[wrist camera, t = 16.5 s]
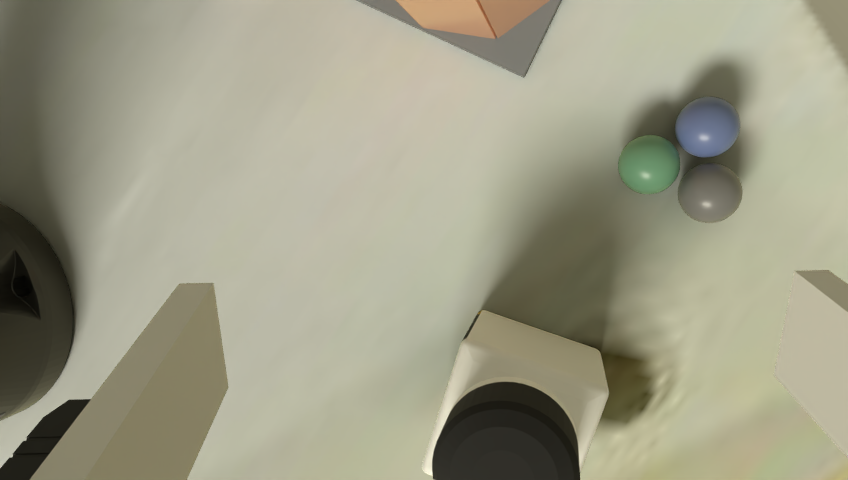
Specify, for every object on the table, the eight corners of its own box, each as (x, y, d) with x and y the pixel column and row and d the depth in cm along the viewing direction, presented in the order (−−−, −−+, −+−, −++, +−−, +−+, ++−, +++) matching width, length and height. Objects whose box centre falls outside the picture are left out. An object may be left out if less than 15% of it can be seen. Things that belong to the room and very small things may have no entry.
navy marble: (660, 142, 36) (669, 140, 33) (688, 90, 35) (699, 83, 32) (713, 167, 35) (727, 167, 32) (742, 114, 35) (759, 109, 32)
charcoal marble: (662, 204, 36) (671, 208, 33) (690, 153, 35) (702, 152, 32) (715, 230, 36) (729, 235, 33) (744, 178, 35) (761, 179, 32)
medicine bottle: (480, 306, 39) (444, 368, 27) (602, 349, 37) (621, 431, 26) (443, 419, 40) (394, 525, 28) (561, 463, 39) (561, 593, 27)
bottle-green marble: (605, 178, 36) (610, 178, 33) (632, 127, 36) (639, 123, 33) (657, 202, 36) (666, 205, 33) (685, 151, 35) (696, 149, 33)
